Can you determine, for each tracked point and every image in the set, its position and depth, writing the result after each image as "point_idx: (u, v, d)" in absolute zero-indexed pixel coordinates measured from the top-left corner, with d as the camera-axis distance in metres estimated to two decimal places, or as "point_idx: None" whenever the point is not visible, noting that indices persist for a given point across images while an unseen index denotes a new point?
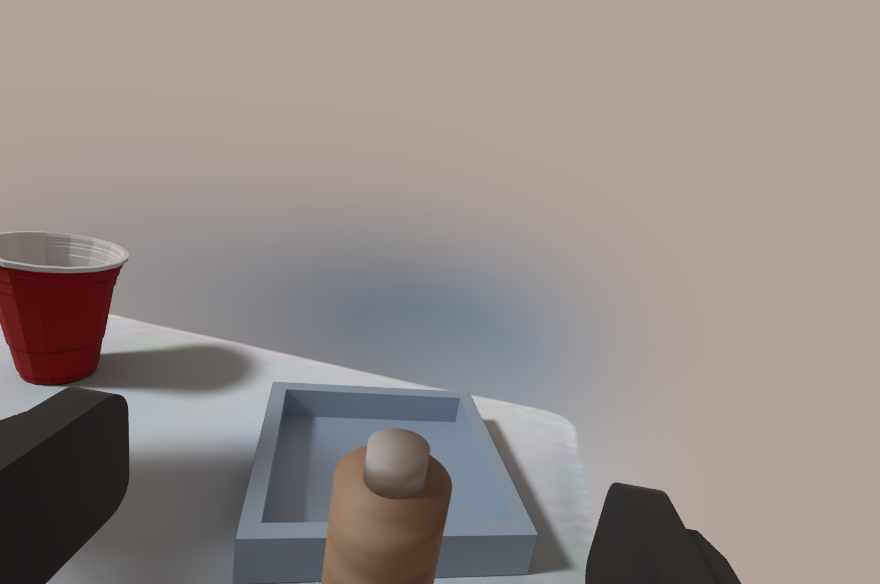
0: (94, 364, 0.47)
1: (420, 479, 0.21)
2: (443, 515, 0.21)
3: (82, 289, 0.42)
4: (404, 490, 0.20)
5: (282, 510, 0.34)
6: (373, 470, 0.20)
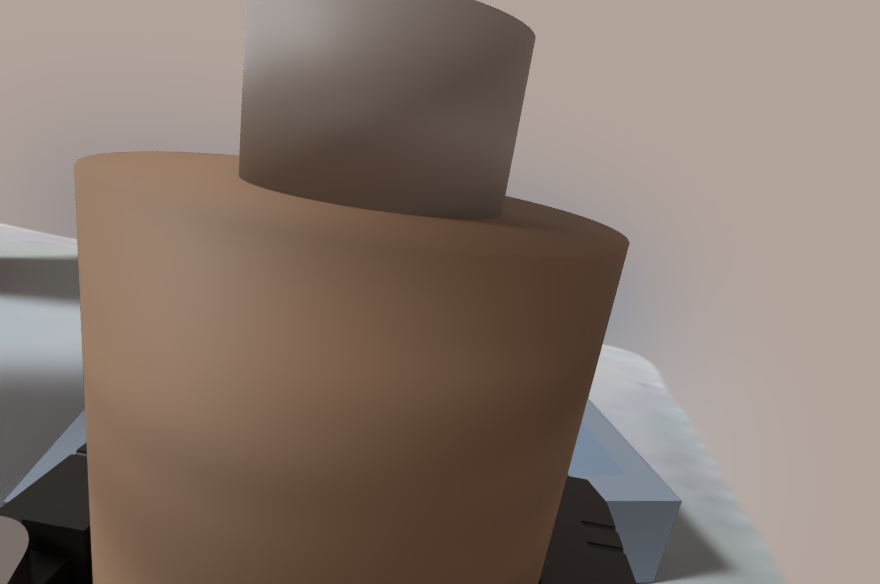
0: None
1: (498, 138, 0.04)
2: (609, 309, 0.04)
3: None
4: (423, 163, 0.04)
5: None
6: (265, 64, 0.04)
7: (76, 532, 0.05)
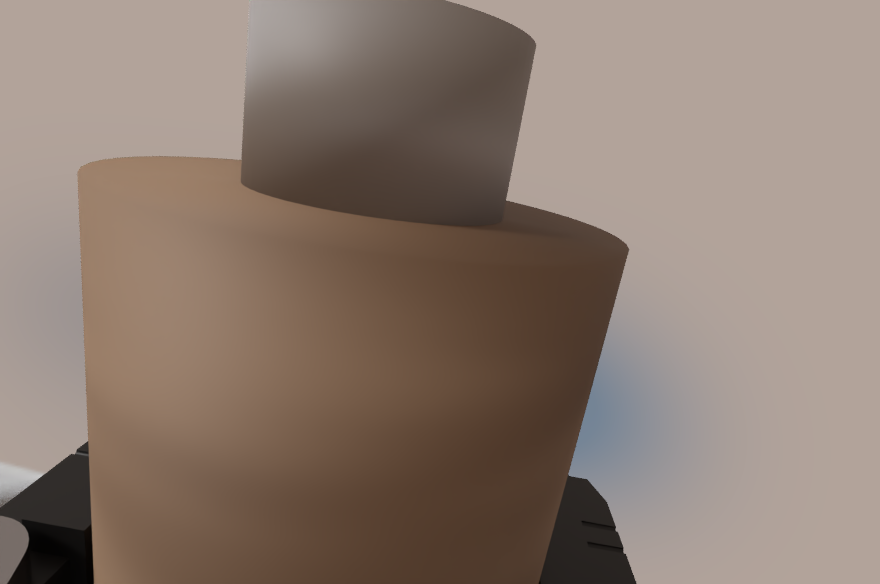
0: None
1: (499, 145, 0.04)
2: (609, 316, 0.04)
3: None
4: (424, 171, 0.04)
5: None
6: (267, 71, 0.04)
7: (76, 532, 0.05)
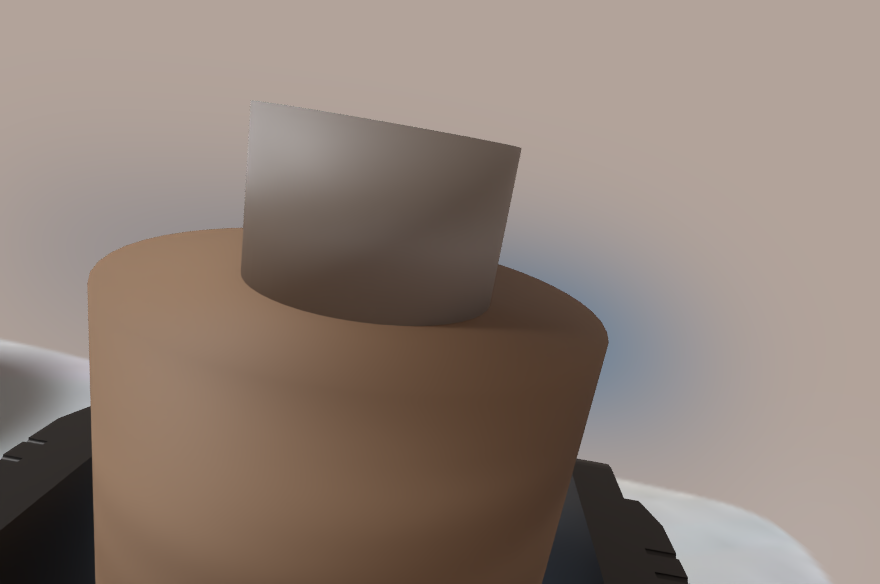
0: None
1: (485, 247, 0.05)
2: (588, 409, 0.05)
3: None
4: (414, 279, 0.04)
5: None
6: (266, 185, 0.04)
7: None
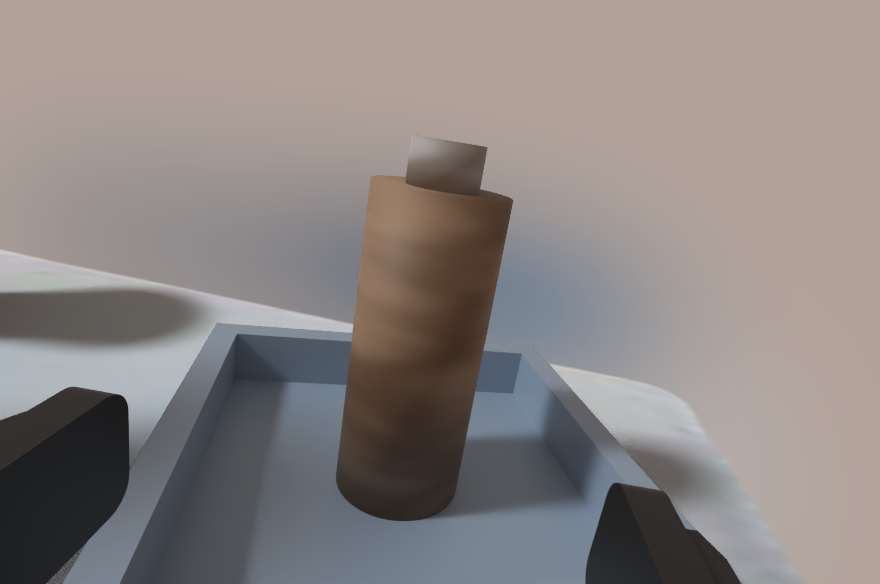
0: None
1: (476, 174, 0.17)
2: (505, 218, 0.17)
3: None
4: (458, 181, 0.17)
5: (200, 552, 0.16)
6: (420, 157, 0.17)
7: None
